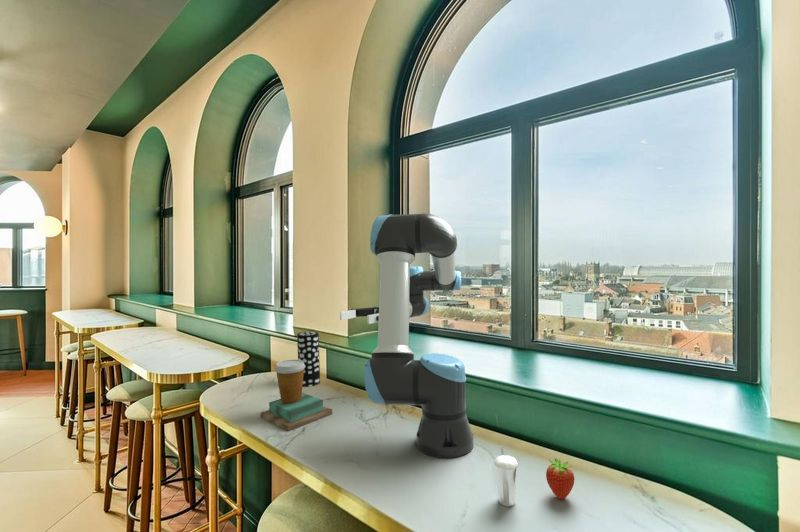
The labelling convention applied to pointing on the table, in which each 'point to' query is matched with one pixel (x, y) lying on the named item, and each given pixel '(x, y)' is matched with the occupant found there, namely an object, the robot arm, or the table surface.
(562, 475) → the fruit
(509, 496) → the milkshake
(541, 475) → the table surface
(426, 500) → the table surface
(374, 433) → the table surface
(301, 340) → the white-spotted black cylinder
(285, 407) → the display stand
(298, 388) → the disposable coffee cup
